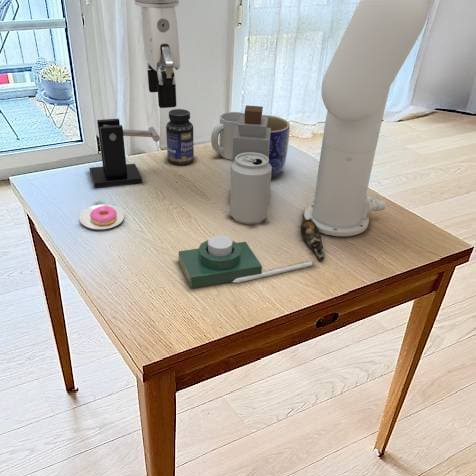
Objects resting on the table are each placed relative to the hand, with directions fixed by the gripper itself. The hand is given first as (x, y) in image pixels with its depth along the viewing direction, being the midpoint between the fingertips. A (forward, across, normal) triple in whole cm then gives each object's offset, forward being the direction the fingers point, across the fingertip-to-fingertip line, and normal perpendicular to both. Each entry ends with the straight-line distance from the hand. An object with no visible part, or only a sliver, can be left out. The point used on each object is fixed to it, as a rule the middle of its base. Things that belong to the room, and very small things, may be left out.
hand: (162, 99), depth 100 cm
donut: (+18, -10, +15) cm, 25 cm away
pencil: (+19, -36, -10) cm, 42 cm away
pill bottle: (+18, +14, -6) cm, 24 cm away
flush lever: (+10, +8, +6) cm, 14 cm away
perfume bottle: (+18, -8, -16) cm, 25 cm away
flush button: (+15, -32, -2) cm, 36 cm away
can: (+18, -16, -13) cm, 28 cm away
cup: (+18, +14, -18) cm, 29 cm away
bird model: (+19, -28, -21) cm, 40 cm away
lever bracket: (+18, +8, +10) cm, 22 cm away
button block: (+18, -32, -2) cm, 37 cm away
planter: (+18, +3, -22) cm, 29 cm away
